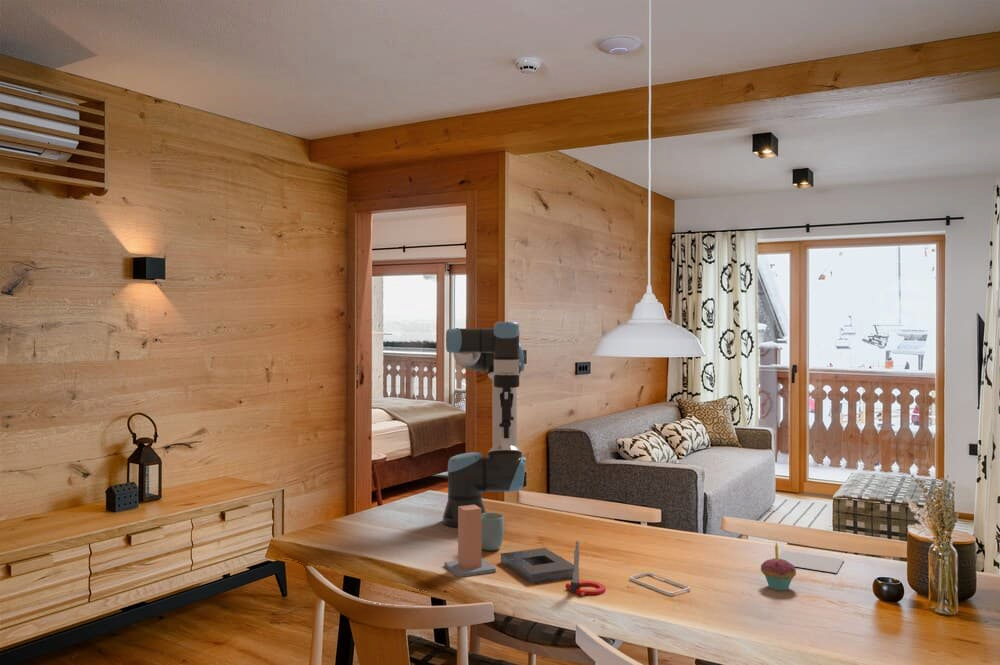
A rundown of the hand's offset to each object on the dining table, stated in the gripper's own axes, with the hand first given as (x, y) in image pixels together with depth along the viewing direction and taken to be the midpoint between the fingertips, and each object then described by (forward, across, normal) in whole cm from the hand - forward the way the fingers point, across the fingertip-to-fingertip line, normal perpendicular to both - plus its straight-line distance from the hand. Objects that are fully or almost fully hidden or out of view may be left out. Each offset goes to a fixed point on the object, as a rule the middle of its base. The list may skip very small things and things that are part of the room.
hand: (506, 445), depth 224 cm
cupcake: (+32, -28, -70) cm, 82 cm away
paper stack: (+32, -5, -92) cm, 97 cm away
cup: (+32, +4, +5) cm, 33 cm away
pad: (+32, -15, +10) cm, 36 cm away
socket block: (+32, -15, -9) cm, 36 cm away
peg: (+31, -15, +10) cm, 36 cm away
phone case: (+32, -27, -40) cm, 58 cm away
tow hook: (+32, -31, -21) cm, 49 cm away
